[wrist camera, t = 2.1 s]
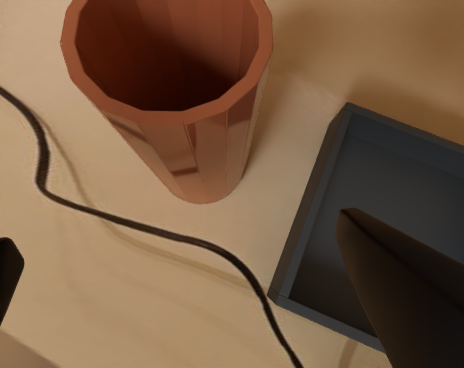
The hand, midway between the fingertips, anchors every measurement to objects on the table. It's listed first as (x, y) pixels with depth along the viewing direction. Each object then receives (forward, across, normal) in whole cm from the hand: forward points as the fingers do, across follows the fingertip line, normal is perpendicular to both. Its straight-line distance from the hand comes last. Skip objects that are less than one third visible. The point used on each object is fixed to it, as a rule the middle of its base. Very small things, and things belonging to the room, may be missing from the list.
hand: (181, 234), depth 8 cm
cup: (+13, 0, +4) cm, 14 cm away
